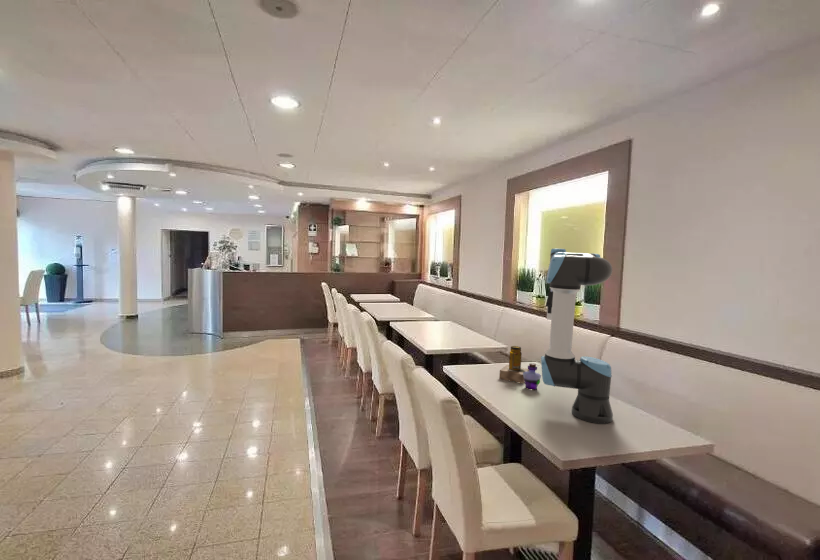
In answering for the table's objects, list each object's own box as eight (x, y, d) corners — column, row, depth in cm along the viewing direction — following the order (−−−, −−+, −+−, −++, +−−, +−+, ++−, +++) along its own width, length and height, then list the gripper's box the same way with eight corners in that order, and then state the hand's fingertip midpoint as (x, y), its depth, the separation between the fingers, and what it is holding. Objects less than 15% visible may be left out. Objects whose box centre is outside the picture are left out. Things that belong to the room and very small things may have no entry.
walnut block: (528, 378, 207) (529, 369, 207) (522, 384, 197) (523, 374, 196) (506, 373, 213) (506, 364, 213) (499, 379, 203) (499, 370, 203)
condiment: (506, 367, 208) (508, 345, 208) (523, 368, 208) (524, 345, 207) (509, 371, 201) (510, 348, 200) (526, 372, 201) (527, 349, 200)
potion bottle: (539, 392, 185) (540, 367, 184) (520, 388, 188) (521, 364, 188) (541, 387, 193) (543, 363, 192) (523, 383, 196) (525, 360, 195)
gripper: (556, 276, 218) (553, 314, 219) (541, 278, 198) (538, 319, 200) (570, 277, 213) (567, 316, 215) (556, 279, 194) (553, 321, 195)
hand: (553, 318), depth 207 cm, fingers open, 13 cm apart
